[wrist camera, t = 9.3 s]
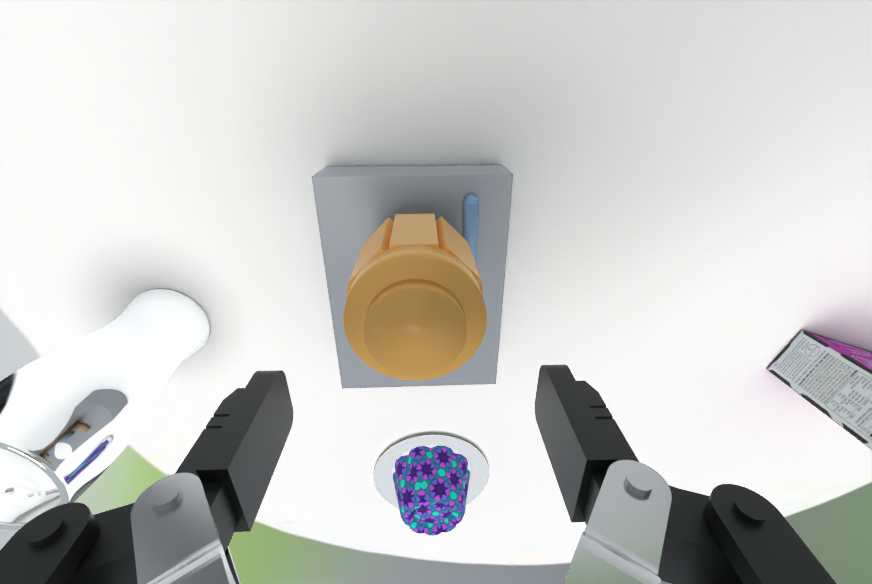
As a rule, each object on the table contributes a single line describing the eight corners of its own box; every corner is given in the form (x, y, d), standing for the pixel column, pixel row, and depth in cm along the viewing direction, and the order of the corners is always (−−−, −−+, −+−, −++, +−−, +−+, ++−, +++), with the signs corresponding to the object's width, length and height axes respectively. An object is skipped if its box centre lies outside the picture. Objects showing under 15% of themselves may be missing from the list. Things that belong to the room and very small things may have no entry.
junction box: (326, 166, 27) (307, 179, 22) (500, 164, 27) (516, 177, 23) (350, 357, 34) (340, 396, 29) (487, 353, 34) (497, 391, 30)
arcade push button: (357, 214, 20) (330, 266, 14) (471, 212, 20) (494, 263, 14) (367, 314, 22) (348, 395, 16) (467, 311, 23) (486, 390, 16)
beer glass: (215, 292, 31) (56, 444, 17) (217, 362, 34) (82, 539, 20) (119, 275, 30) (-129, 422, 16) (130, 349, 33) (-72, 525, 19)
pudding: (467, 414, 38) (474, 459, 33) (501, 490, 43) (511, 538, 38) (354, 448, 39) (346, 496, 35) (400, 518, 44) (398, 567, 40)
